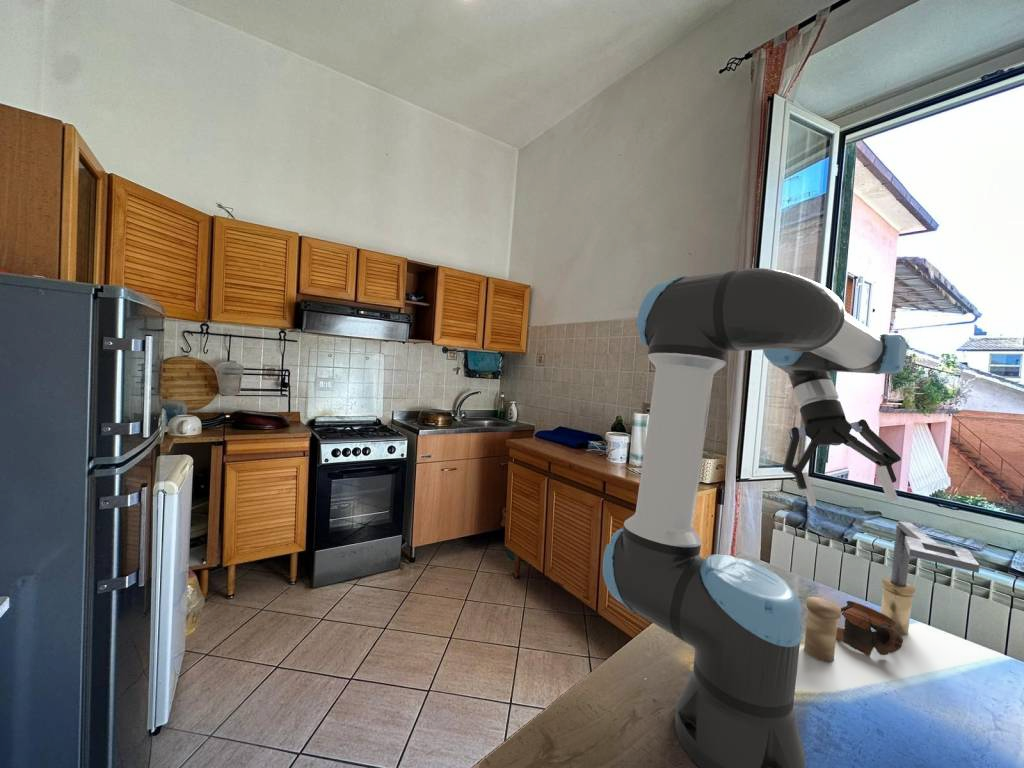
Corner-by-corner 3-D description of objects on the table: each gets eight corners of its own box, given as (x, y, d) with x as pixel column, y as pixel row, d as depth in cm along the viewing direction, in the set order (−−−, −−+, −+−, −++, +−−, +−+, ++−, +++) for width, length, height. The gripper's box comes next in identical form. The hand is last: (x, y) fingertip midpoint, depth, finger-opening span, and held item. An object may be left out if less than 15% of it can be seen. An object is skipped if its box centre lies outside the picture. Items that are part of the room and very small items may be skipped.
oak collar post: (800, 653, 76) (805, 604, 76) (803, 640, 80) (808, 593, 80) (835, 667, 73) (840, 615, 73) (836, 653, 77) (841, 604, 77)
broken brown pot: (818, 631, 84) (831, 592, 86) (859, 655, 84) (871, 615, 86) (875, 656, 73) (888, 610, 75) (922, 684, 73) (934, 637, 75)
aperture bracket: (882, 671, 73) (896, 545, 72) (877, 617, 90) (887, 515, 89) (963, 701, 67) (979, 565, 66) (941, 638, 84) (953, 529, 83)
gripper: (879, 401, 92) (918, 500, 84) (753, 416, 100) (777, 508, 92) (894, 389, 86) (939, 495, 78) (758, 406, 93) (785, 505, 85)
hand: (852, 503), depth 85 cm, fingers open, 13 cm apart
